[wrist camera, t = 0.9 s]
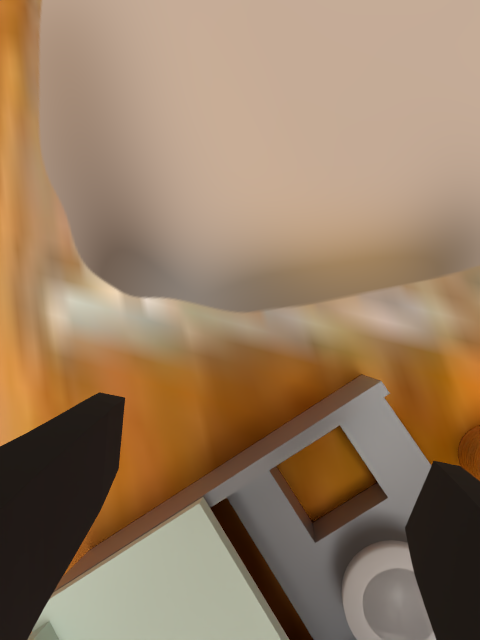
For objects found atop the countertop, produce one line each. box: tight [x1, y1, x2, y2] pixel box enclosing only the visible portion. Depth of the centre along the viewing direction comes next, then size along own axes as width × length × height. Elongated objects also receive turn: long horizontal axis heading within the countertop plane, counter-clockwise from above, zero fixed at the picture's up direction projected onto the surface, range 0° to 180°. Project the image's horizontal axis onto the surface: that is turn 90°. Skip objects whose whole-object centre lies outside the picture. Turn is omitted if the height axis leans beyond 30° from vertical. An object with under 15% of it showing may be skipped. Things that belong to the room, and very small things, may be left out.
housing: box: [53, 375, 436, 640], centre depth 25 cm, size 14×24×6 cm, turn 123°
